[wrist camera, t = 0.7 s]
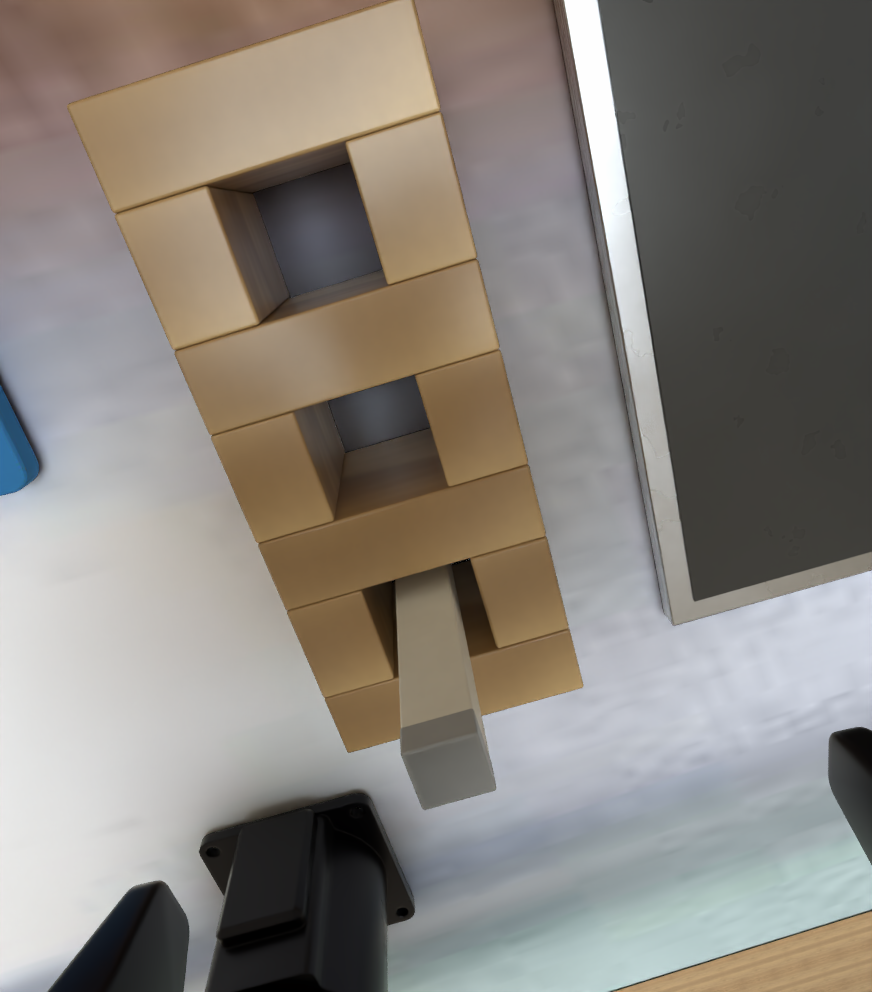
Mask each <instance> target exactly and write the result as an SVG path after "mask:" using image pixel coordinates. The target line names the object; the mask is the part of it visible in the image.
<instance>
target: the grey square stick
mask: <svg viewBox="0 0 872 992" xmlns="http://www.w3.org/2000/svg"><path fill="white" fill-rule="evenodd" d="M395 587H396V613H397V640H398V667H399V694H400V721H401V729H400V744H401V756H402V759H403V761H404V764H405V766H406V769H407V771H408V774H409V776H410V779H411V781H412V784H413V786H414V789H415V791H416V794H417V796H418V799H419V801H420V804H421V807H422V808H423V809H424V810H426V809H430V808H434V807H437V806H441V805H445V804H448V803H452V802H455V801H459V800H463V799H466V798H470V797H474V796H477V795H481V794H485V793H488V792H492V791H495V790H496V783H495V778H494V773H493V768H492V763H491V760H490V756H489V751H488V746H487V741H486V736H485V731H484V726H483V721H482V716H481V711H480V706H479V701H478V696H477V691H476V686H475V681H474V676H473V671H472V666H471V661H470V656H469V651H468V646H467V641H466V636H465V631H464V626H463V621H462V616H461V611H460V606H459V601H458V596H457V591H456V586H455V581H454V576H453V571H452V566H451V564H447V565H444V566H440V567H437V568H433V569H430V570H427V571H423V572H420V573H416V574H413V575H409V576H406V577H402V578H399V579H395Z"/></svg>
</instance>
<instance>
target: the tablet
mask: <svg viewBox="0 0 872 992" xmlns="http://www.w3.org/2000/svg"><path fill="white" fill-rule="evenodd" d="M553 1H554V7H555V12H556V18H557V23H558V29H559V34H560V40H561V45H562V51H563V56H564V62H565V68H566V73H567V79H568V84H569V90H570V95H571V101H572V106H573V112H574V117H575V123H576V128H577V134H578V139H579V145H580V150H581V156H582V162H583V167H584V173H585V178H586V184H587V189H588V195H589V200H590V206H591V211H592V217H593V222H594V228H595V233H596V239H597V244H598V250H599V256H600V261H601V267H602V272H603V278H604V283H605V289H606V294H607V300H608V305H609V311H610V316H611V322H612V327H613V333H614V339H615V344H616V350H617V355H618V361H619V366H620V372H621V377H622V383H623V388H624V394H625V399H626V405H627V410H628V416H629V421H630V427H631V433H632V438H633V444H634V449H635V455H636V460H637V466H638V471H639V477H640V482H641V488H642V493H643V499H644V504H645V510H646V516H647V521H648V527H649V532H650V538H651V543H652V549H653V554H654V560H655V565H656V571H657V576H658V582H659V587H660V593H661V598H662V604H663V610H664V614H665V615H666V617H667V618H668V620H669V621H670V622H671V624H672V625H673V626H676V625H679V624H683V623H686V622H690V621H693V620H697V619H700V618H704V617H708V616H711V615H715V614H718V613H722V612H725V611H729V610H732V609H736V608H740V607H743V606H747V605H750V604H754V603H757V602H761V601H764V600H768V599H771V598H775V597H779V596H782V595H786V594H789V593H793V592H796V591H800V590H803V589H807V588H811V587H814V586H818V585H821V584H825V583H828V582H832V581H835V580H839V579H843V578H846V577H850V576H853V575H857V574H860V573H864V572H867V571H871V570H872V0H553Z"/></svg>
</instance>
